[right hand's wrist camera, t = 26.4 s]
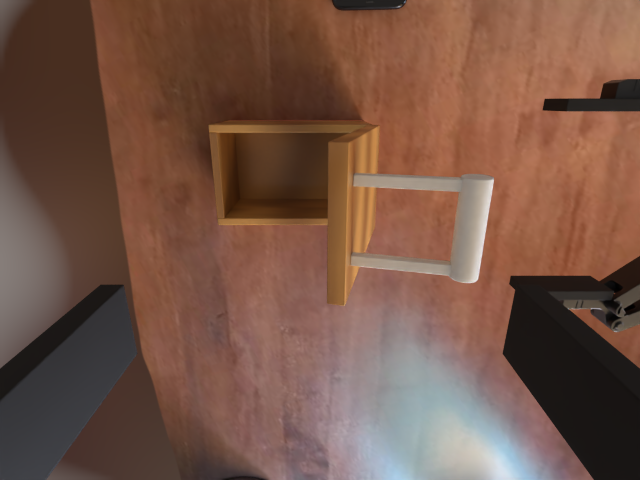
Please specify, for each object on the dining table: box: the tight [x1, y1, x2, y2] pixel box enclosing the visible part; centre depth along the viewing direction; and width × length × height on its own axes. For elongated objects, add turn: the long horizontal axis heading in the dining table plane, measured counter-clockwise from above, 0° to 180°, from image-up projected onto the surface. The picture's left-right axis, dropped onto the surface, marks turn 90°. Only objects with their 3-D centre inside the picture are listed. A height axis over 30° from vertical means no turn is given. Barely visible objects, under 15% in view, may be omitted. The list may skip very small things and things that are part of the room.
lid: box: [327, 125, 494, 306], centre depth 29 cm, size 16×10×9 cm
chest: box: [208, 120, 372, 225], centre depth 42 cm, size 16×10×9 cm, turn 90°
